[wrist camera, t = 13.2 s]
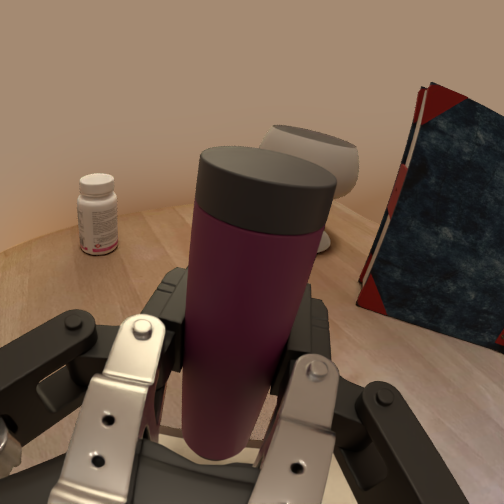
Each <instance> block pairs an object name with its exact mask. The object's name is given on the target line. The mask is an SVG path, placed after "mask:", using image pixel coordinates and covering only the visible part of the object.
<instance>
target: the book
mask: <svg viewBox="0 0 504 504" xmlns="http://www.w3.org/2000/svg"><path fill="white" fill-rule="evenodd" d="M358 282H360V283H363V287H362V290H361V292H360V294H359V296H358V300H357V302H356V305H359V306H361V307H363V308H366V309H369V310H372V311H375V312H378V313H381V314H384V315H387V316H391V317H394V318H397V319H400V320H403V321H407V322H410V323H413V324H416V325H419V326H422V327H425V328H428V329H431V330H434V331H437V332H440V333H443V334H446V335H450V336H453V337H456V338H459V339H462V340H465V341H468V342H471V343H475V344H478V345H481V346H484V347H487V348H490V349H494V350H497V351H499V352H501V353H503V354H504V116H502V115H500V114H498V113H496V112H494V111H493V110H491V109H489V108H487V107H485V106H483V105H481V104H479V103H477V102H475V101H473V100H471V99H469V98H468V97H466V96H464V95H462V94H459V93H457V92H455V91H452V90H450V89H448V88H445V87H443V86H441V85H438V84H436V83H433V82H431V83H430V86H429V87H428V88H425V87H422V86H421V89H420V91H419V92H418V97H417V102H416V107H415V113H414V118H413V122H412V126H411V130H410V133H409V137H408V140H407V145H406V147H405V151H404V154H403V158H402V161H401V164H400V168H399V171H398V174H397V177H396V180H395V184H394V187H393V190H392V193H391V196H390V199H389V201H388V204H387V208H386V210H385V213H384V216H383V219H382V221H381V224H380V227H379V230H378V232H377V235H376V238H375V240H374V243H373V245H372V248H371V251H370V253H369V256H368V258H367V261H366V263H365V266H364V268H363V270H362V272H361V275H360V278H359V281H358Z"/></svg>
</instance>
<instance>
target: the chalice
mask: <svg viewBox="0 0 504 504" xmlns="http://www.w3.org/2000/svg"><path fill="white" fill-rule="evenodd" d="M259 148H260V149H266V150H271V151H276V152H280V153H285V154H288V155H292V156H295V157H299V158H302V159H304V160H307V161H310V162H312V163H315V164H317V165H319V166H321V167H323V168H325V169H326V170H328V171H329V172H331V173H332V174H333V175H334V176H335V177H336V179H337V186H336V190H335V193H334V197H333V199H337V198H340V197H343V196H345V195H347V194H348V193H349V192H350V191H351V190H352V189H353V188H354V186H355V185H356V181H357V179H358V172H359V156H358V151H357V148H356V146H355V145H353V144H351V143H349V142H347V141H344V140H342V139H339V138H336V137H333V136H330V135H327V134H323V133H320V132H316V131H311V130H308V129H303V128H297V127H292V126H285V125H273V126H272V127H271V128H270V129H269V131H268V132H267V133H266V135H265V137H264V138H263V140H262V142H261V144H260V147H259ZM330 242H331V241H330V238H329V236H328V235H327V234H326V232H325V231H323V235H322V238H321V241H320V245H319V248H318V251H317V253H318V252H321V251H324V250H326V249H328V247H329V246H330Z"/></svg>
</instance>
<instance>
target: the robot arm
mask: <svg viewBox="0 0 504 504" xmlns="http://www.w3.org/2000/svg"><path fill="white" fill-rule="evenodd" d="M187 278H188V267H187V268H186V269H183V268H179V267H176V268H175V269H173V270H171V271H170V272H168V273H167V274H166V275H165V277H164V278H163V280H162V281H161V283H160V284H159V286H158V287H157V290H155V292H154V293H153V295H152V296H151V298H150V299H149V301H148V303H147V304H146V306H145V307H144V309H143V310H142V312H141V313H140V314H137V315H133V316H130V317H128V318H127V319H125V320H124V321H123V322H122V324H121V325H120V326H107V325H96V324H95V320H94V318H93V316H92V315H91V314H90V313H88V312H86V311H84V310H78V309H75V310H69V311H66V312H64V313H62V314H60V315H58V316H56V317H54V318H53V319H51V320H49V321H47V322H45V323H44V324H42V325H40V326H38V327H36V328H35V329H33V330H31V331H29V332H28V333H26V334H24V335H22V336H21V337H19V338H17V339H15V340H13V341H12V342H10V343H8V344H7V345H5V346H3V347H1V348H0V504H321V503H322V499H323V495H324V491H325V487H326V483H327V478H328V474H329V469H330V465H331V460H332V455H333V454H334V456H335V458H336V460H337V462H338V464H339V466H340V468H341V470H342V473H343V475H344V477H345V479H346V481H347V483H348V485H349V487H350V489H351V491H352V493H353V495H354V497H355V499H356V501H357V503H358V504H469V502H468V501H467V499H466V497H465V495H464V494H463V492H462V490H461V489H460V487H459V485H458V484H457V482H456V480H455V479H454V477H453V475H452V474H451V472H450V470H449V469H448V467H447V465H446V464H445V462H444V461H443V459H442V457H441V456H440V454H439V453H438V451H437V449H436V448H435V446H434V445H433V443H432V441H431V440H430V438H429V437H428V435H427V433H426V432H425V430H424V429H423V427H422V426H421V424H420V423H419V421H418V419H417V418H416V416H415V415H414V413H413V412H412V410H411V409H410V407H409V406H408V404H407V403H406V401H405V400H404V398H403V397H402V395H401V394H400V392H399V391H398V390H397V389H396V388H395V387H394V386H392V385H391V384H389V383H386V382H383V381H374V382H371V383H369V384H368V385H367V386H366V387H365V388H364V387H361V386H359V385H356V384H354V383H351V382H349V381H347V380H345V379H344V378H342V377H341V376H340V375H339V370H338V368H337V366H336V365H335V364H334V363H333V362H332V361H331V347H330V333H329V322H328V310H327V308H326V306H325V305H324V303H323V302H322V300H320V299H315V298H311V284H309V283H307V285H306V288H305V291H304V294H303V297H302V300H301V303H300V306H299V309H298V312H297V315H296V318H295V321H294V324H293V326H292V329H291V332H290V335H289V337H288V340H287V343H286V346H285V348H284V351H283V354H282V356H281V359H280V362H279V365H278V367H277V370H276V373H275V375H274V378H273V380H272V383H271V389H270V395H276V396H278V397H277V405H276V407H275V409H274V412H273V414H272V417H271V420H270V423H269V425H268V428H267V431H266V434H265V436H264V439H263V442H262V444H261V447H260V450H259V452H258V455H257V457H256V460H255V462H254V464H253V466H246V465H241V464H236V465H206V464H197V463H195V462H193V461H191V460H189V459H187V458H185V457H183V456H181V455H179V454H178V453H176V452H174V451H172V450H170V449H169V448H167V447H165V446H163V445H162V444H159V428H160V422H161V416H162V410H163V404H164V399H165V393H166V387H167V380H168V378H169V375H170V373H171V371H175V372H179V373H180V372H181V369H182V367H183V348H184V327H185V307H186V292H187ZM65 364H66V366H65V367H63V368H61V367H62V366H64V365H65ZM59 368H61V369H60V370H58V369H59ZM56 370H58V371H57V372H55V373H54V374H52V375H51V376H49V377H47V376H48V375H50V374H51V373H53V372H54V371H56ZM45 377H47V378H46V379H44V380H43V381H41V380H42V379H43V378H45ZM40 381H41V382H40ZM39 382H40V383H39ZM81 405H82V406H81ZM80 406H81V409H80V412H79V415H78V418H77V421H76V424H75V427H74V430H73V434H72V437H71V440H70V443H69V447H68V450H67V452H66V453H64V454H62V455H59V456H57V457H55V458H53V459H50V460H48V461H45V462H43V463H41V464H38V465H36V466H33V467H31V468H28V469H25V470H23V471H20V472H18V473H15V474H12V475H9V474H10V472H11V470H12V468H13V467H17V466H19V465H20V463H21V454H22V447H23V446H24V445H26V444H27V443H29V442H30V441H32V440H33V439H34V438H36V437H37V436H39V435H40V434H42V433H43V432H44V431H46V430H47V429H49V428H50V427H52V426H53V425H54V424H56V423H57V422H59V421H60V420H62V419H63V418H64V417H66V416H67V415H69V414H70V413H71V412H73V411H74V410H76V409H77V408H78V407H80Z"/></svg>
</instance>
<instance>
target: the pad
mask: <svg viewBox="0 0 504 504" xmlns="http://www.w3.org/2000/svg"><path fill="white" fill-rule="evenodd" d="M262 442H263V441H261V440H250V439H249V440H248V443H247V445H246V446H245V448H244V449H243V450H242V451H241V452H240V453H239V454H237V455H235V456H234V457H231V458H228V459H225V460H222V461H210V460H206V459H203V458H201V457H200V456H198V455H197V454H196V453H195V452H194V451H192V450H191V449H190V448H189V447H188V445H187V444H186V442H185V440H184V438H183V435H182V430H181V429H176V428H171V427H166V426H161V425H160V428H159V444H162V445H163V446H165V447H167V448H169V449H170V450H172V451H174V452H176V453H178V454H179V455H181V456H183V457H185V458H187V459H189V460H191V461H193V462H195V463H197V464H206V465H236V464H241V465H246V466H253V464H254V462H255V460H256V457H257V455H258V452H259V450H260V447H261V444H262ZM321 504H358V503H357V501H356V499H355V497H354V495H353V493H352V491H351V489H350V487H349V485H348V483H347V481H346V479H345V477H344V475H343V473H342V470H341V468H340V466H339V464H338V462H337V460H336V458H335V456H334V454H333V455H332V460H331V465H330V469H329V474H328V478H327V483H326V487H325V491H324V495H323V499H322V503H321Z"/></svg>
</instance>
